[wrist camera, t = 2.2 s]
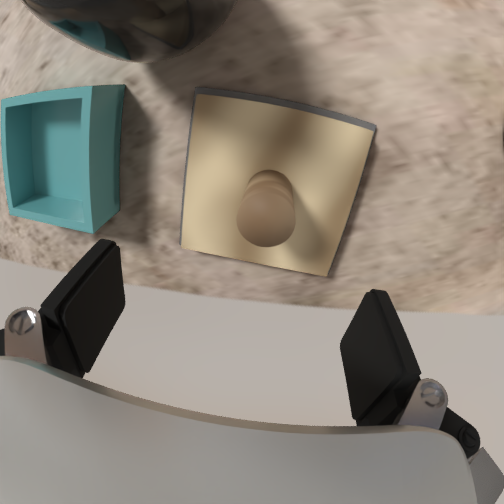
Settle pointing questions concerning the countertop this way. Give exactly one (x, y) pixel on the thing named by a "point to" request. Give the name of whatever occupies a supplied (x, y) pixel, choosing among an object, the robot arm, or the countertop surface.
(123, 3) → the pump dispenser
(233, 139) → the lid
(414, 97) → the countertop surface
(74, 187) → the dish
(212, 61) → the countertop surface
